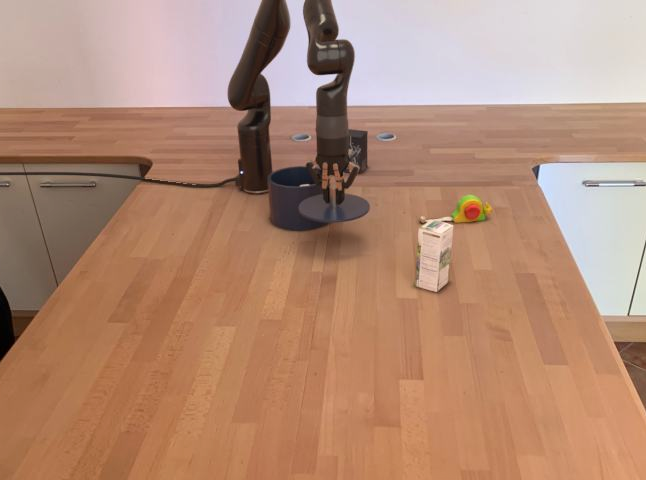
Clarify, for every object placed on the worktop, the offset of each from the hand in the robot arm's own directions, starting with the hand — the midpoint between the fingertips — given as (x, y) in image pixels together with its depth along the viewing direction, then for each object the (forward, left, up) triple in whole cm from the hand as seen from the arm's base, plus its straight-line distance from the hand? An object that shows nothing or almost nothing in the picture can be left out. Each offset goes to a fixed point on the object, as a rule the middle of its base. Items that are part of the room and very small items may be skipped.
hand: (333, 202), depth 174 cm
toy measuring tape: (+26, +24, -12) cm, 37 cm away
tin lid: (0, 0, -1) cm, 1 cm away
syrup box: (+28, -14, -12) cm, 34 cm away
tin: (-15, +14, -11) cm, 23 cm away
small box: (-16, +56, -12) cm, 59 cm away
